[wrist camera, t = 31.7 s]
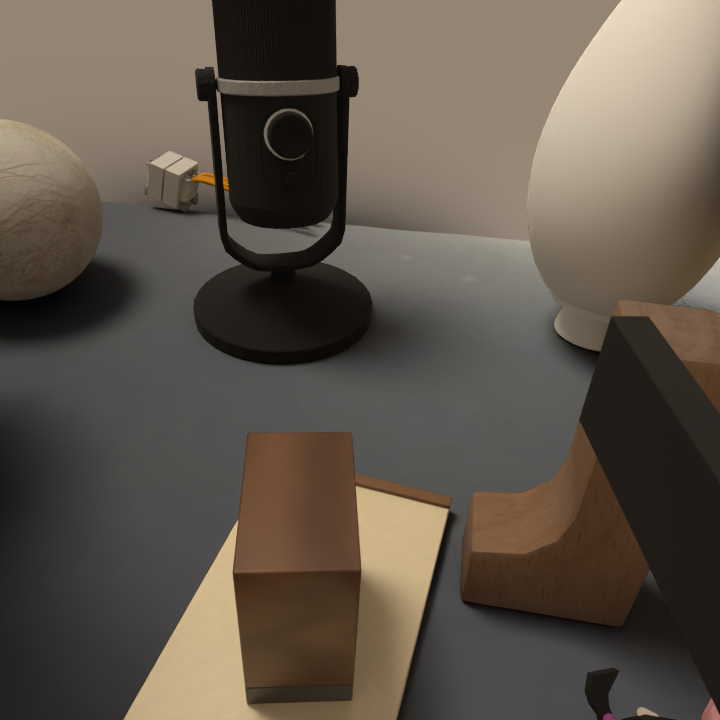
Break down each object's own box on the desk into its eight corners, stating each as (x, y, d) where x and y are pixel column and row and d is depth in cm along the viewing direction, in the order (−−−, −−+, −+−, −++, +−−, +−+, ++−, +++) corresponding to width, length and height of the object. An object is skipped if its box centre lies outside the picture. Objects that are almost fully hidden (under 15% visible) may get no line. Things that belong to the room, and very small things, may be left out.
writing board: (75, 819, 29) (69, 806, 28) (274, 466, 46) (273, 452, 45) (345, 925, 26) (346, 914, 26) (449, 510, 44) (452, 496, 43)
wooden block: (458, 603, 38) (516, 337, 28) (462, 539, 42) (514, 283, 31) (623, 631, 37) (749, 367, 27) (612, 563, 41) (720, 307, 30)
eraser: (246, 704, 32) (232, 573, 26) (257, 563, 39) (247, 432, 33) (352, 701, 33) (361, 570, 27) (345, 561, 39) (351, 431, 33)
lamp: (473, 338, 59) (560, -174, 38) (543, 269, 70) (641, -160, 49) (659, 411, 52) (888, -165, 32) (704, 321, 63) (898, -152, 42)
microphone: (200, 374, 54) (146, -77, 36) (190, 276, 66) (146, -96, 48) (392, 352, 57) (429, -69, 40) (349, 263, 70) (362, -89, 52)
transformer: (307, 217, 72) (325, 199, 76) (142, 148, 74) (167, 134, 78) (296, 263, 76) (313, 244, 80) (140, 196, 78) (163, 180, 81)
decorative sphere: (149, 272, 66) (124, 114, 57) (29, 353, 55) (-26, 172, 46) (30, 238, 71) (-10, 87, 62) (-103, 306, 59) (-176, 133, 50)
